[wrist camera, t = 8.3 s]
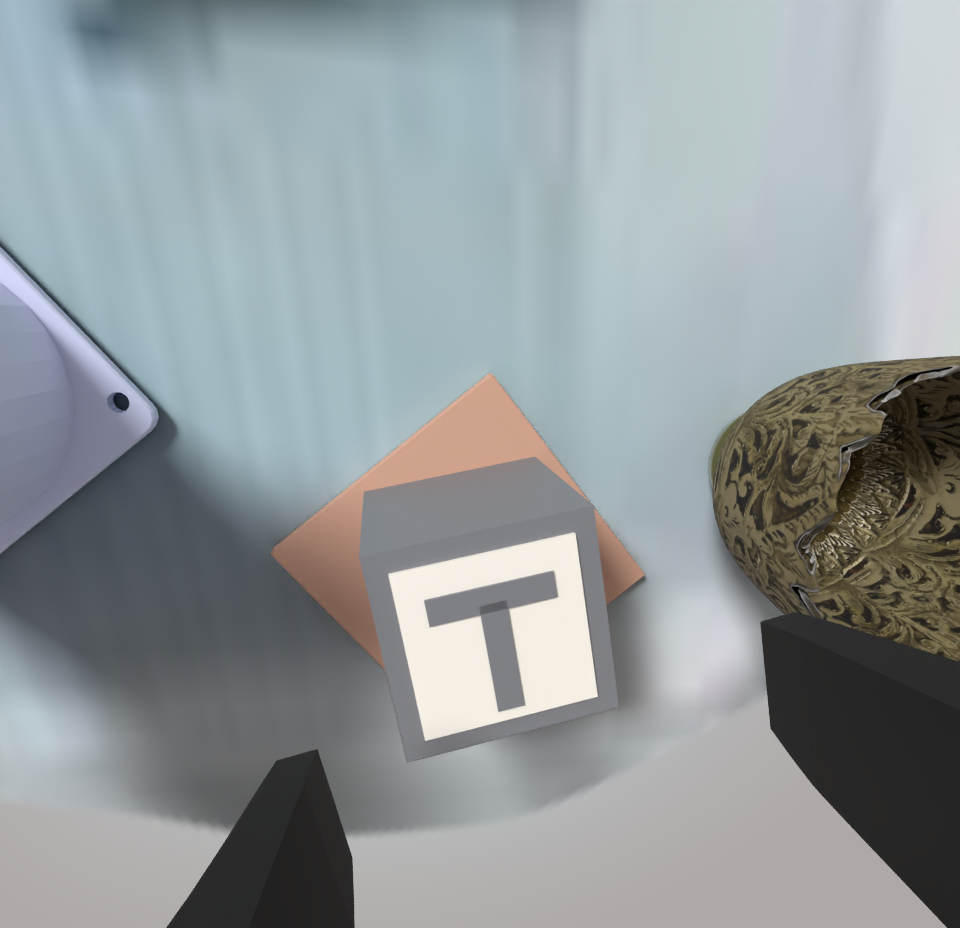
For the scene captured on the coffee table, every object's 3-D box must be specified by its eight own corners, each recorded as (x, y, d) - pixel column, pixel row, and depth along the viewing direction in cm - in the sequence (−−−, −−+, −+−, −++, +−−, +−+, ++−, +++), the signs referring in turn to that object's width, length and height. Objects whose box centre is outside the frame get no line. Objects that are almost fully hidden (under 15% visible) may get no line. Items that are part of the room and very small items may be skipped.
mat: (273, 547, 18) (270, 553, 17) (489, 373, 18) (492, 374, 17) (445, 722, 20) (447, 732, 19) (638, 568, 20) (645, 574, 19)
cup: (705, 609, 20) (903, 781, 13) (599, 430, 18) (759, 507, 11) (887, 485, 21) (1192, 581, 13) (802, 293, 19) (1104, 272, 11)
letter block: (398, 648, 18) (407, 767, 13) (363, 491, 17) (358, 559, 12) (557, 610, 19) (621, 711, 14) (534, 456, 18) (596, 507, 13)
